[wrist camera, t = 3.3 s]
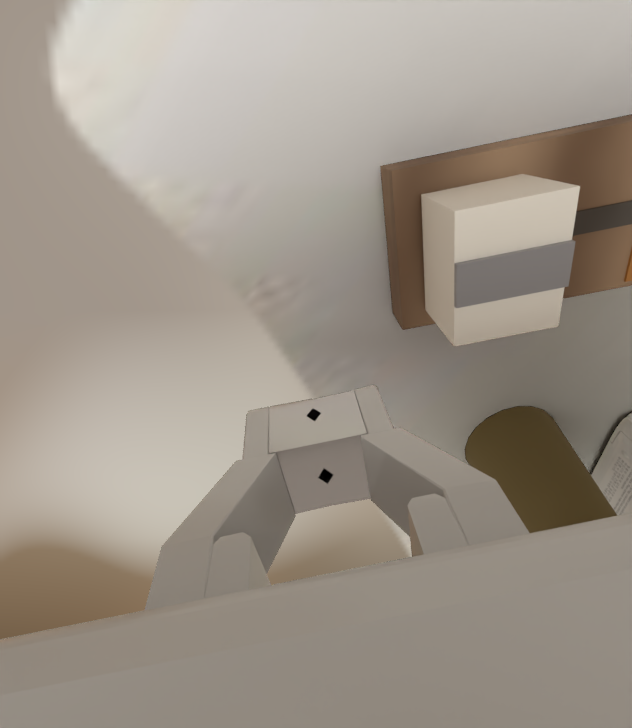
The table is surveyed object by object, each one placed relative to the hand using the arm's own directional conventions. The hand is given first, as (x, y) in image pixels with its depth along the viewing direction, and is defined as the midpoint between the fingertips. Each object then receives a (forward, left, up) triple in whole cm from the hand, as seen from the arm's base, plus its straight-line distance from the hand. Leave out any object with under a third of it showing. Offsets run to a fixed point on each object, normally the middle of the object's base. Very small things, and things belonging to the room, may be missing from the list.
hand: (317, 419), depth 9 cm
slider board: (-12, 0, -12) cm, 17 cm away
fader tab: (-7, 0, -9) cm, 12 cm away
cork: (-11, +14, -12) cm, 22 cm away
